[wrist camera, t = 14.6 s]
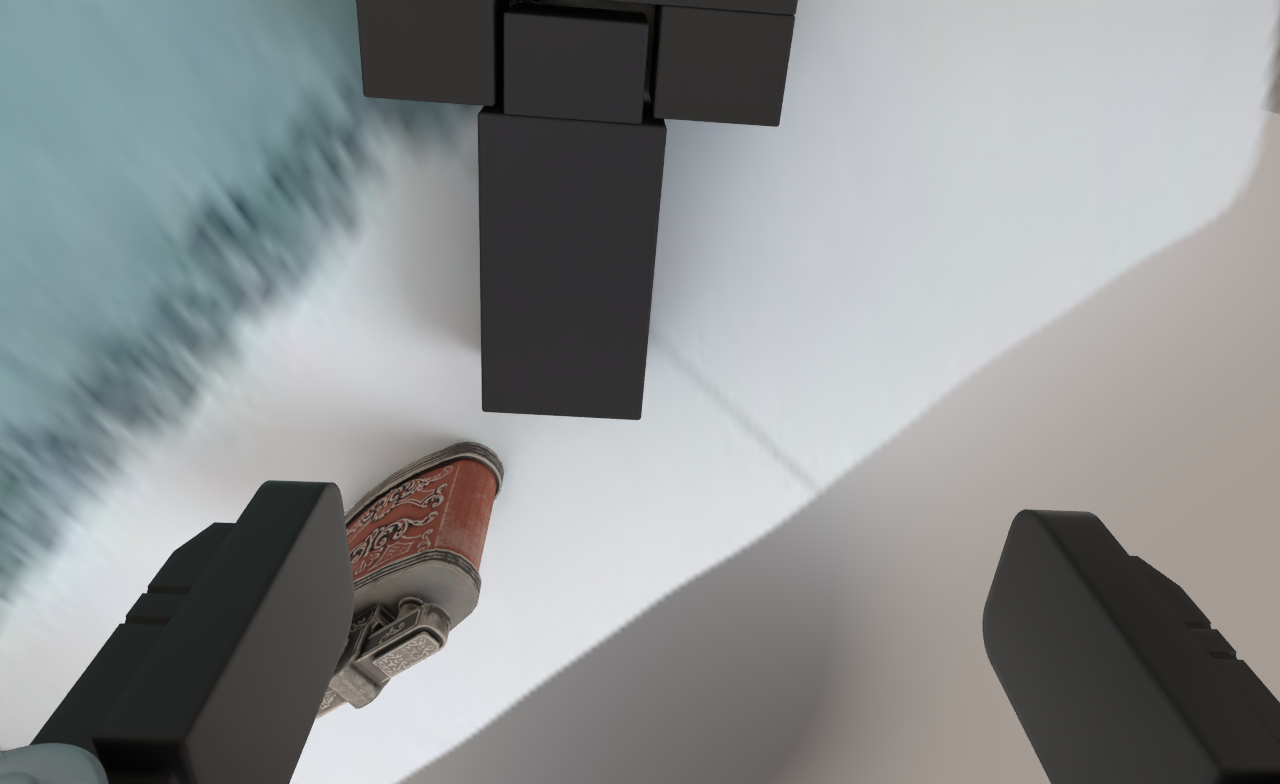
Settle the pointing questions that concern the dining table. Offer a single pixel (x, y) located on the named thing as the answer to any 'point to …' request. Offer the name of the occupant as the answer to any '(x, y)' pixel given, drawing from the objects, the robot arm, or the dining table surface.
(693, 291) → the dining table surface
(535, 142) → the pad
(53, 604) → the dining table surface
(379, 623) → the lighter
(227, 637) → the robot arm
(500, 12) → the notch pad
